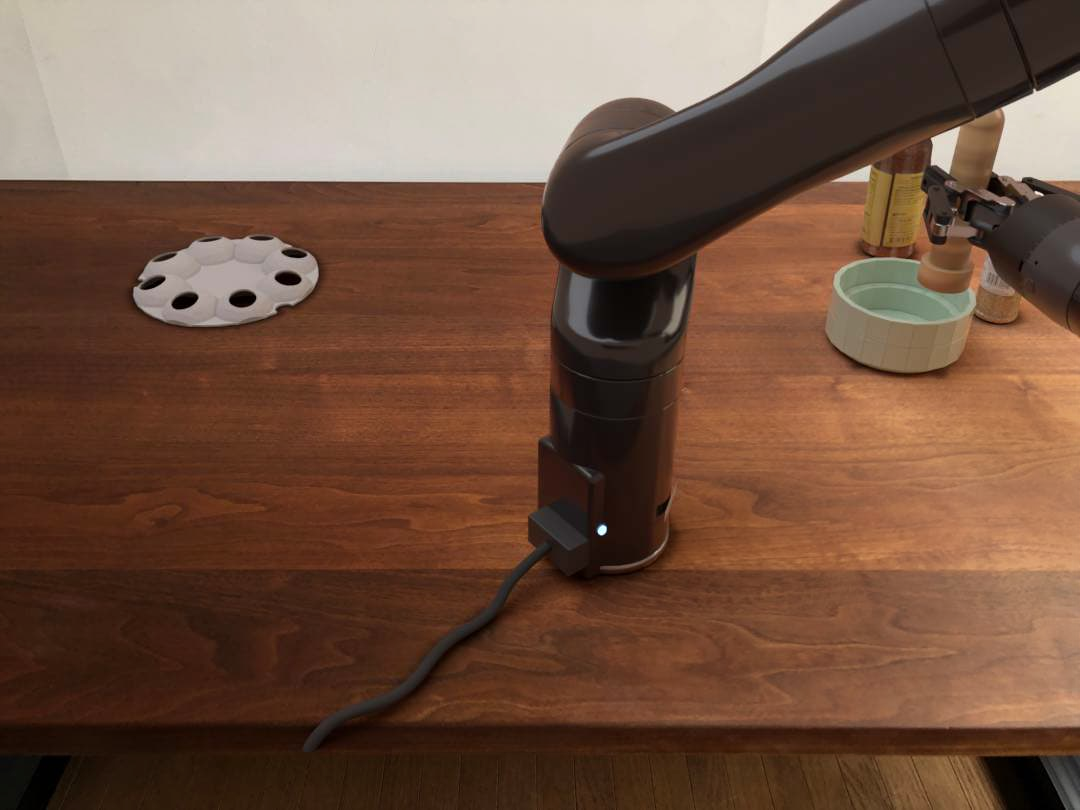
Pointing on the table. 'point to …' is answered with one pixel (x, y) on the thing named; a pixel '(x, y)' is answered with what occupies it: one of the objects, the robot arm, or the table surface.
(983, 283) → the sprinkles bottle
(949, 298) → the bowl
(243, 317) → the paint palette
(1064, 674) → the table surface
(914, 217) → the sauce bottle
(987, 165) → the pestle
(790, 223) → the table surface
